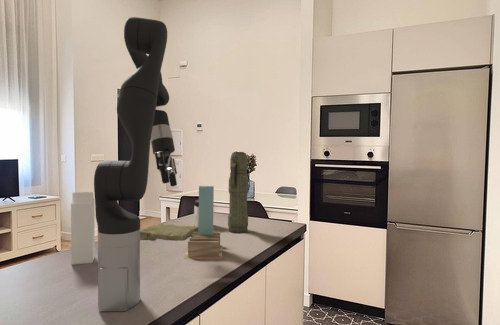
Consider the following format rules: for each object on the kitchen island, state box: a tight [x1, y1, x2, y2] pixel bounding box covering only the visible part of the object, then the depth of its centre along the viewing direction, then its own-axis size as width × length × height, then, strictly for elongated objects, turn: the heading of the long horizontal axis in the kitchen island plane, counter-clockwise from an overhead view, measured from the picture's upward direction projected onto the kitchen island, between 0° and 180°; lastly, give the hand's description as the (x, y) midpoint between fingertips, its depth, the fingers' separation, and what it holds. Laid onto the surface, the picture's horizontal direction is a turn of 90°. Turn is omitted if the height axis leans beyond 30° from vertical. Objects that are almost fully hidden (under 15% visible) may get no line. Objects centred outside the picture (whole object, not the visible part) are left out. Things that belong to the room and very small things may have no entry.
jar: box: [193, 199, 199, 228], centre depth 160 cm, size 9×8×12 cm
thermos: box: [227, 151, 249, 234], centre depth 151 cm, size 9×12×35 cm
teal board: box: [198, 185, 215, 235], centre depth 121 cm, size 2×5×22 cm, turn 93°
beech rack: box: [184, 231, 224, 260], centre depth 118 cm, size 16×12×6 cm
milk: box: [70, 191, 96, 266], centre depth 108 cm, size 6×6×22 cm
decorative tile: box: [140, 223, 199, 241], centre depth 142 cm, size 19×20×4 cm
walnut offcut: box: [193, 236, 217, 238], centre depth 118 cm, size 2×8×5 cm, turn 93°
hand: (170, 184), depth 117 cm, fingers open, 8 cm apart
